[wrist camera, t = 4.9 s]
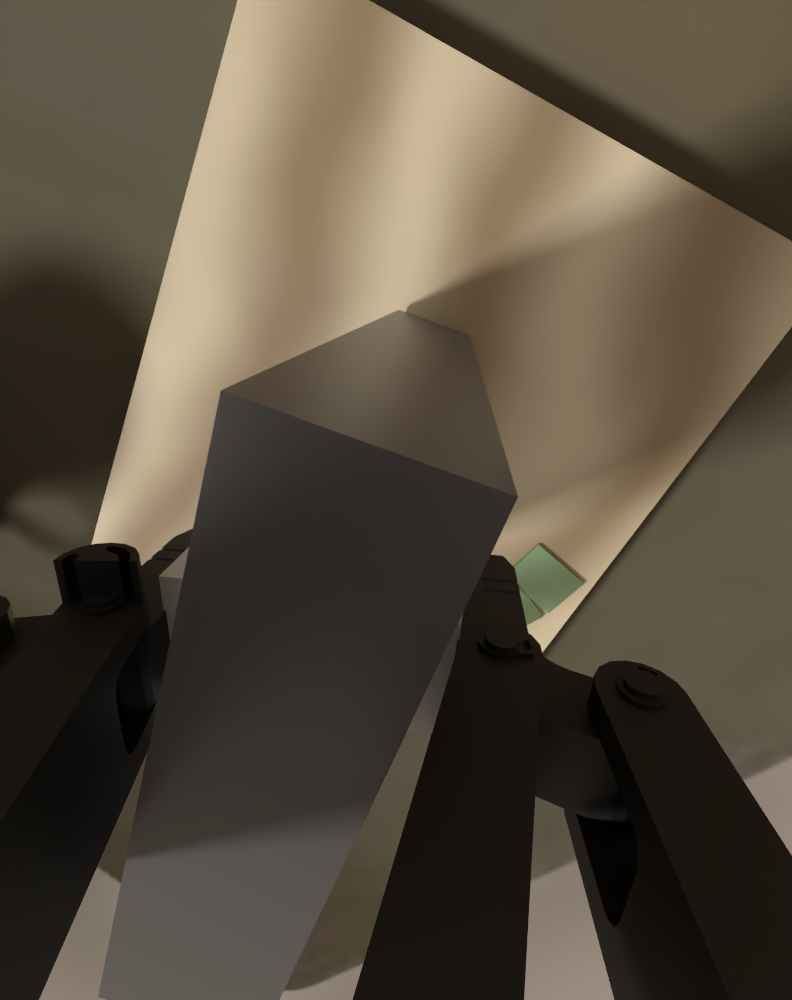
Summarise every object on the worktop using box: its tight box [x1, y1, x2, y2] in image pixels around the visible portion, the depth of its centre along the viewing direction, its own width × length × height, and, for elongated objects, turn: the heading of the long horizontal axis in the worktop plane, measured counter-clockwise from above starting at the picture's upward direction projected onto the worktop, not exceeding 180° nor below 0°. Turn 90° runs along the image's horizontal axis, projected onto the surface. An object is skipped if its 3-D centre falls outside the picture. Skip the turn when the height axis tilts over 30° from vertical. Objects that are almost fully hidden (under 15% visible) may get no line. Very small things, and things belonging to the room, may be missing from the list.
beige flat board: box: [91, 0, 792, 653], centre depth 21 cm, size 20×24×2 cm
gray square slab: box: [98, 310, 518, 1000], centre depth 14 cm, size 3×14×15 cm, turn 161°
